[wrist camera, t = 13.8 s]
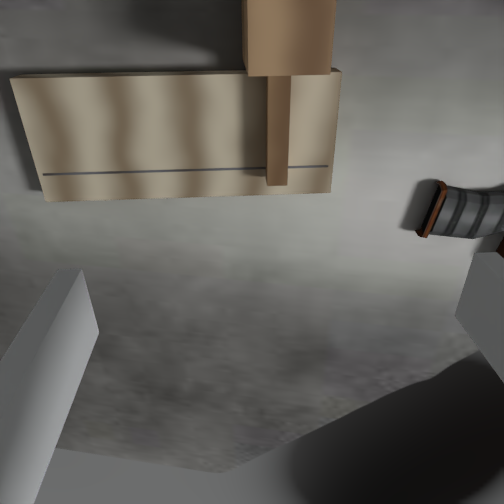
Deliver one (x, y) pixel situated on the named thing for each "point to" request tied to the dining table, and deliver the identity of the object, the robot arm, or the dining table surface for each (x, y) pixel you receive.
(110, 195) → the board
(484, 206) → the tool
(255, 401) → the dining table surface
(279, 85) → the brown block with tab
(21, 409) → the robot arm
